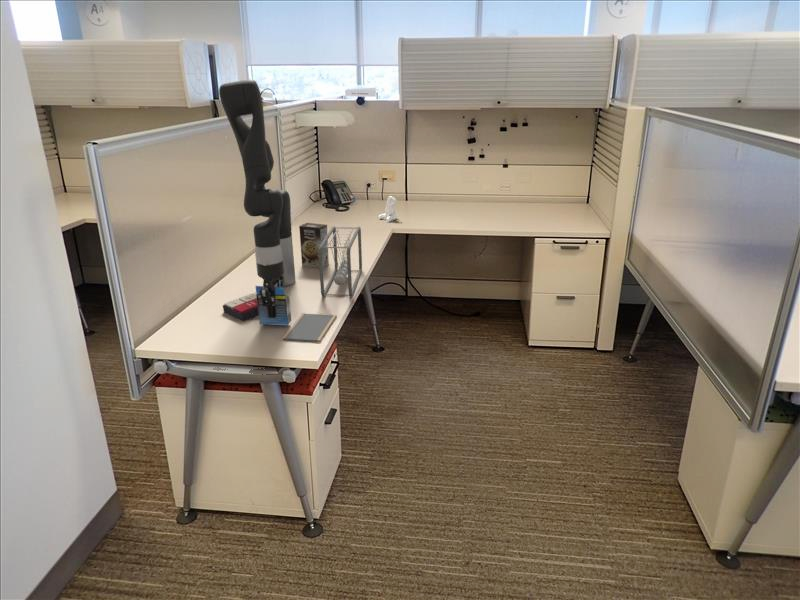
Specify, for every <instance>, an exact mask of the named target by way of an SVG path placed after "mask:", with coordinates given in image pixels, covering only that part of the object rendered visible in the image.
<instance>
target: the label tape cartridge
mask: <svg viewBox="0 0 800 600" xmlns="http://www.w3.org/2000/svg"><path fill="white" fill-rule="evenodd" d="M260 290H263V285H255V292H256V296H257V303H258V312H259V316H258V319H259V324H260V325H271V326H272V325H275V326H279V325H280V326H289V325H290V323H291V322H292V314H291V313H292V311H291V301H290V300H291V299H290V295H288V294H286V293H285V292H286V291H285V286H283V287H276V298H275V309H276V317H275V318H269V317H268V309H267V306H263V303H262V300H261V296H260V293H259V291H260ZM270 295H273V294H270ZM271 300H272V298H271Z"/></svg>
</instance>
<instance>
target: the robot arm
mask: <svg viewBox="0 0 800 600" xmlns="http://www.w3.org/2000/svg"><path fill="white" fill-rule="evenodd" d="M218 89H219V90H218V94H219V99H220V103H221V105H222V109H223V111H224V112H225V115H226V118H227V119H228V122H229V124H230V127H231V130H232V131H233V134H234V137H235V139H236V143H237V147H238V151H239V153H240V156H241V161H242V166H243V170H244V178H245V190H244V198H243V208H244V211H245V212H246V214H247V215H248V216H250V217H264V218H268V219H267V220H264V221H262V222H259V223H257V224H255V225H254V227H253V236H254V246H255V247H254V248H255V249H254V250H255V251H254V254H255V262H256V263H255V264H256V271H257V276H258V277H259V278H260V279H262V280H263V281H262V282H263V283H262V286H263V290H260V291H259V293H260V296H261V300H262V303H263V306H267V309H268V317H269V318H275V317H276V309H275V298H276V287H286V286H287V287H288V286H291V285H294V284H295V283H296V270H295V258H294V247H293V233H292V217H291V216H292V211H291V197H290V193H289V192H288V191H287V190H286V189H285V190H284V189H283V190H282V189H280V190H279V189H276V188H268V189H267V188H266V187H265V185H266V184H267V183H269V182H270V181H271V180H272V171H273V168H274V164H275V162H274V157H273V153H272V150H271V146H270V144H269V143H268V141H267V140H266V127H265V126H266V125H265V124H266V123H265V116H264V115H265V114H264V113H265V112H264V105H263V104H264V103H263V99H262V93H261V90H260V87H259V85H258V82H257V81H256V80H255V79H249V78H248V79H243V80H236V81H232V82H231V81H230V82H226V83H223V84H221V85H220V86H219V88H218ZM248 115H249V116H250V115H251V116H252V120H251V126H249V125H248V124H247V123H246V122H245V121H244V119H243V118H242V116H248ZM270 294H273V295H270ZM271 298H272V300H271Z"/></svg>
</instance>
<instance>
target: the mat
mask: <svg viewBox="0 0 800 600" xmlns="http://www.w3.org/2000/svg"><path fill="white" fill-rule="evenodd" d="M335 318H337V314H321V313H320V314H319V313H317V314H316V313H304V312H303V313H301V314H300V315H299V316H298V318H297V319H296V320H295V321H294V322H293V324H291V327H290V328H288V330H287V331H286V333H285V334H284V335H283V336H282V341H291V342H294V341H295V342H305V343H306V342H308V343H309V342H310V343H321V342H322V340H323V339H324V337H325V336H326V334H327V332H328V331H329V329H330V328H331V326H332V325H333V323H334V322H335V320H336V319H335ZM333 321H334V322H333Z"/></svg>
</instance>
